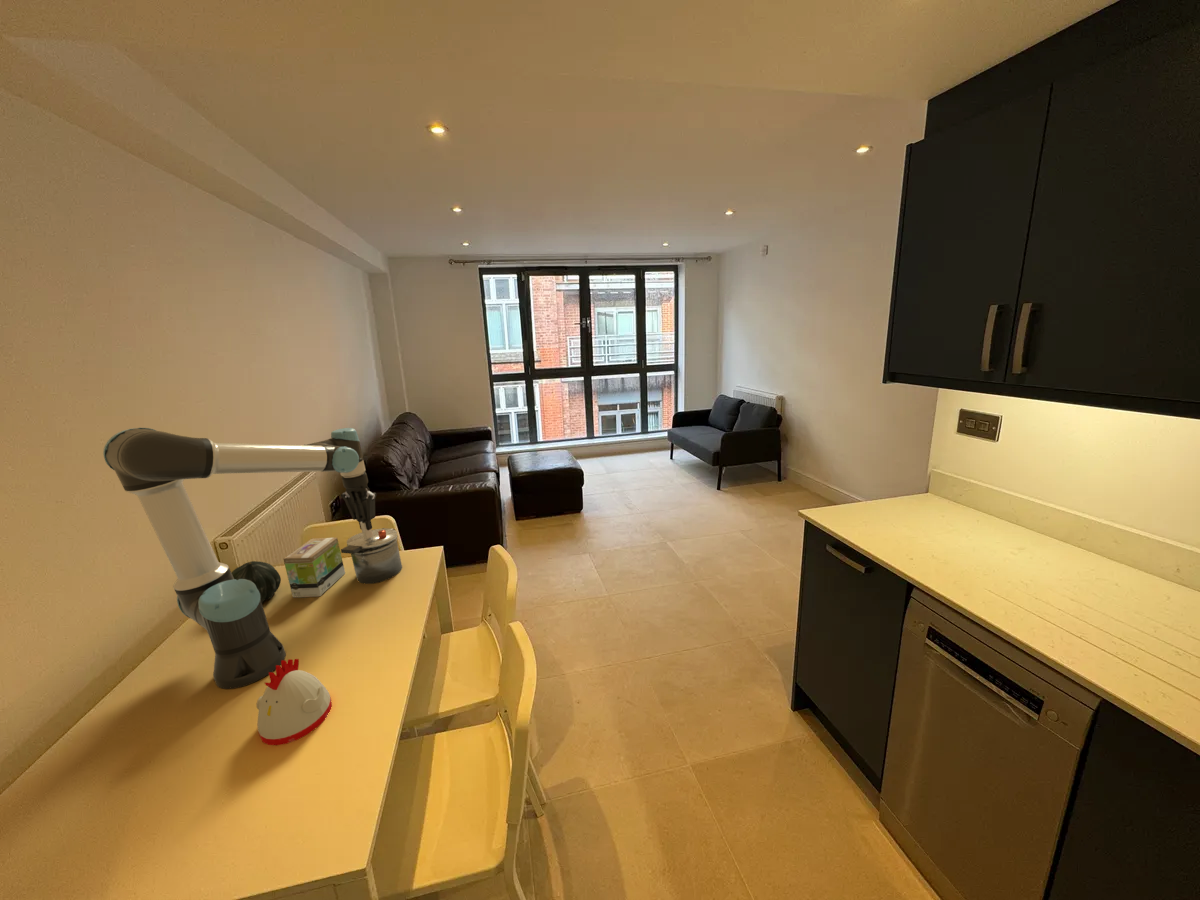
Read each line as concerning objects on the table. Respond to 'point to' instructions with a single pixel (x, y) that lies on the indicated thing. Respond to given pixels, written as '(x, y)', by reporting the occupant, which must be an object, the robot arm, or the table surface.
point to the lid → (369, 540)
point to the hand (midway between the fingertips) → (368, 537)
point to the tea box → (314, 567)
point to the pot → (377, 563)
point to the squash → (259, 577)
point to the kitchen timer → (291, 704)
